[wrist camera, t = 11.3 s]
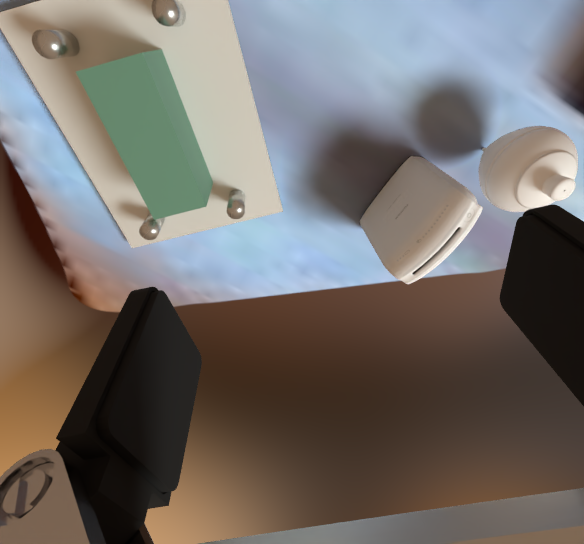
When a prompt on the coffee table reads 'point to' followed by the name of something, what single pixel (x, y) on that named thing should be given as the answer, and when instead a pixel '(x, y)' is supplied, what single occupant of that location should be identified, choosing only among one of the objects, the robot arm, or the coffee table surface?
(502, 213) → the coffee table surface
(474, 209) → the photo printer
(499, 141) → the spinning top
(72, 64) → the standoff plate
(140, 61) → the board block
